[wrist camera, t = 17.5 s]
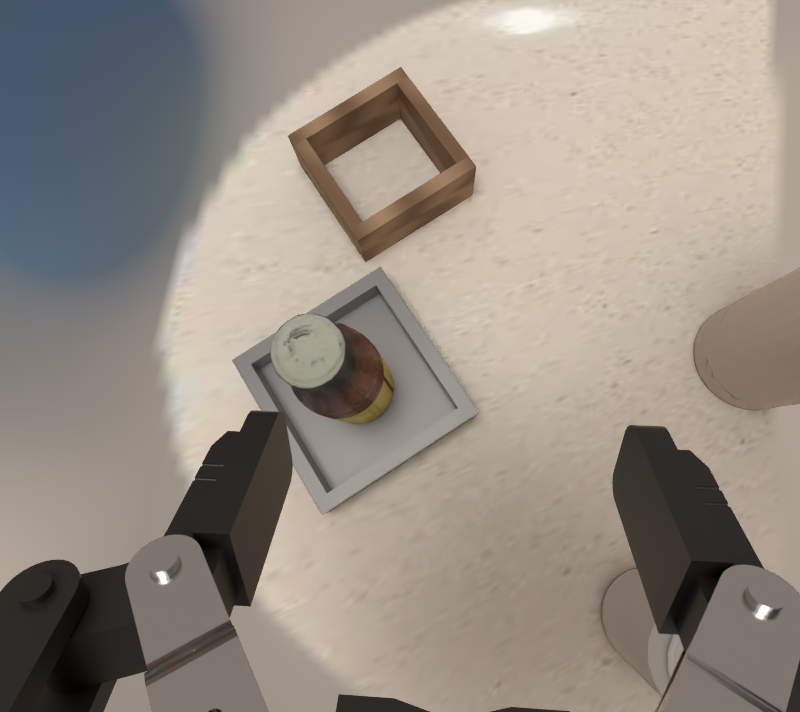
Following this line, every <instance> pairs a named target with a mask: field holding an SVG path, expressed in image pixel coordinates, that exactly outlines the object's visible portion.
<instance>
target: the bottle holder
mask: <svg viewBox="0 0 800 712" xmlns="http://www.w3.org/2000/svg"><path fill="white" fill-rule="evenodd" d="M400 118H401V120H402V121H403V122H404V124H405V125H406V127H407V128H408V129H409V131H410V132H411V133H412V135H413V136H414V137H415V139H416V140H417V141H418V143H419V144H420V146H421V147H422V148H423V150H424V151H425V152H426V154H427V155H428V156H429V158H430V159H431V161H432V162H433V163H434V165H435V166H436V167H437V169H438V170H439V171H440V174H439V175H437V176H436V177H434V178H432V179H431V180H429V181H428V182H426V183H424V184H423V185H421V186H420V187H418V188H416V189H415V190H413V191H412V192H410V193H408V194H407V195H405V196H404V197H402V198H400V199H399V200H397V201H395V202H394V203H392V204H391V205H389V206H387V207H386V208H384V209H383V210H381V211H379V212H378V213H376V214H375V215H373V216H371V217H370V218H368V219H367V220H365V221H363V222H362V220H361V219H360V217H359V216H358V214H357V213H356V211H355V210H354V208H353V207H352V206H351V204H350V203H349V201H348V200H347V198H346V197H345V195H344V194H343V192H342V191H341V189H340V188H339V186H338V185H337V184H336V182H335V181H334V179H333V178H332V176H331V175H330V173H329V172H328V170H327V169H326V167H325V166H324V165H325V164H327V163H328V162H330V161H331V160H333V159H335V158H336V157H338V156H340V155H341V154H343V153H345V152H346V151H348V150H349V149H351V148H353V147H354V146H356V145H358V144H359V143H361V142H362V141H364V140H366V139H367V138H369V137H371V136H372V135H374V134H375V133H377V132H379V131H380V130H382V129H384V128H385V127H387V126H389V125H390V124H392V123H393V122H395V121H397V120H398V119H400ZM288 137H289V140H290V142H291V144H292V146H293V149H294V151H295V153H296V155H297V157H298V160H299V162H300V164H301V166H302V168H303V169H304V171H305V172H306V174H307V175H308V177H309V178H310V180H311V181H312V183H313V184H314V186H315V187H316V189H317V190H318V192H319V193H320V195H321V196H322V198H323V199H324V201H325V202H326V204H327V205H328V207H329V208H330V210H331V211H332V213H333V214H334V216H335V217H336V219H337V220H338V222H339V223H340V225H341V226H342V227H343V229H344V230H345V232H346V233H347V235H348V236H349V238H350V239H351V241H352V242H353V244H354V245H355V247H356V248H357V250H358V251H359V253H360V254H361V256H362V257H363V259H364V260H365V262H366V261H368V260H369V259H371V258H373V257H374V256H376V255H377V254H379V253H381V252H382V251H384V250H385V249H387V248H389V247H390V246H392V245H393V244H395V243H396V242H398V241H400V240H401V239H403V238H404V237H406V236H408V235H409V234H411V233H412V232H414V231H416V230H417V229H419V228H420V227H422V226H424V225H425V224H427V223H428V222H430V221H432V220H433V219H435V218H436V217H438V216H439V215H441V214H443V213H444V212H446V211H447V210H449V209H451V208H452V207H454V206H455V205H457V204H459V203H460V202H462V201H463V200H465V199H467V198H468V197H470V196H471V195H472V193H473V186H474V178H475V171H476V166H475V164H474V163H473V162H472V160H471V159H470V158H469V156H468V155H467V154H466V153H465V151H464V150H463V149H462V147H461V146H460V145H459V143H458V142H457V141H456V139H455V138H454V137H453V135H452V134H451V133H450V131H449V130H448V129H447V127H446V126H445V125H444V123H443V122H442V121H441V119H440V118H439V117H438V115H437V114H436V113H435V111H434V110H433V109H432V108H431V106H430V105H429V104H428V102H427V101H426V100H425V98H424V97H423V96H422V94H421V93H420V92H419V90H418V89H417V88H416V86H415V85H414V84H413V82H412V81H411V80H410V78H409V77H408V76H407V74H406V73H405V72H404V70H403V69H402V68H401V67H400V68H399V69H397V70H395V71H394V72H392V73H390V74H389V75H387V76H385V77H384V78H382V79H380V80H379V81H377V82H375V83H374V84H372V85H371V86H369V87H367V88H366V89H364V90H362V91H361V92H359V93H357V94H356V95H354V96H352V97H351V98H349V99H347V100H346V101H344V102H343V103H341V104H339V105H338V106H336V107H334V108H333V109H331V110H329V111H328V112H326V113H324V114H323V115H321V116H319V117H318V118H316V119H315V120H313V121H311V122H310V123H308V124H306V125H305V126H303V127H301V128H300V129H298V130H296V131H295V132H293V133H291V134H290V135H288Z"/></svg>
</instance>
